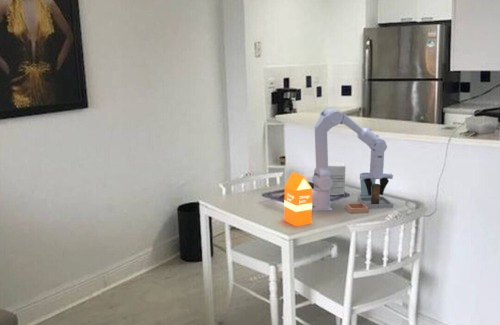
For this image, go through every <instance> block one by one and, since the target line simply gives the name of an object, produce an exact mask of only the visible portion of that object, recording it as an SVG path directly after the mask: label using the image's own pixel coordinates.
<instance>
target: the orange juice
mask: <svg viewBox="0 0 500 325" xmlns="http://www.w3.org/2000/svg"><path fill="white" fill-rule="evenodd" d="M312 189H313V188H312V186H311V185H310V183H309V182H308V180H307V178H306V177H305V175H302V174H301V173H298V172H297V173H296V172H295V171H292V172H291V174H290V175H289V178H288V179H287V181H286V183H285V184H284V200H283V201H284V203H283V206H284V208H283V209H284V211H283V213H284V215H283V220H284V221H285V222H287V223H288V224H291V225H292V226H294V227H299V226H305V225H309V224H312V212H313V211H312Z"/></svg>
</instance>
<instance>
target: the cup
mask: <svg viewBox="0 0 500 325" xmlns="http://www.w3.org/2000/svg"><path fill="white" fill-rule="evenodd" d="M364 174H370V172H361V173H359V176H360V175H364ZM359 180H360V179H359ZM376 180H377V179H371V181H372V184H376ZM360 195H361V197H371V196H369V195H368V191H367V187H366V184H365V182H364V179H363V180H360ZM371 195H372V187H371Z"/></svg>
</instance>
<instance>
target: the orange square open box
mask: <svg viewBox="0 0 500 325" xmlns="http://www.w3.org/2000/svg"><path fill="white" fill-rule="evenodd" d="M344 204H345V210H347V212H348V213H350V214H369V210H370V208H368V207H367V206H366V205H364V204H363V203H360V202H354V203H353V202H352V203H344Z"/></svg>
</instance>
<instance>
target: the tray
mask: <svg viewBox="0 0 500 325" xmlns="http://www.w3.org/2000/svg"><path fill="white" fill-rule="evenodd" d="M357 201H358V202H357V203H363V204H364V205H366V206H367V207H368V208H369V209H390V208H393V207H394V204H393V203H392V202H391V201H390V200H389V199H388V198H386V197H384V196H383V195H381V196H380V200H379V204H371V197H364V196H360V197H359V196H358V197H357Z"/></svg>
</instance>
